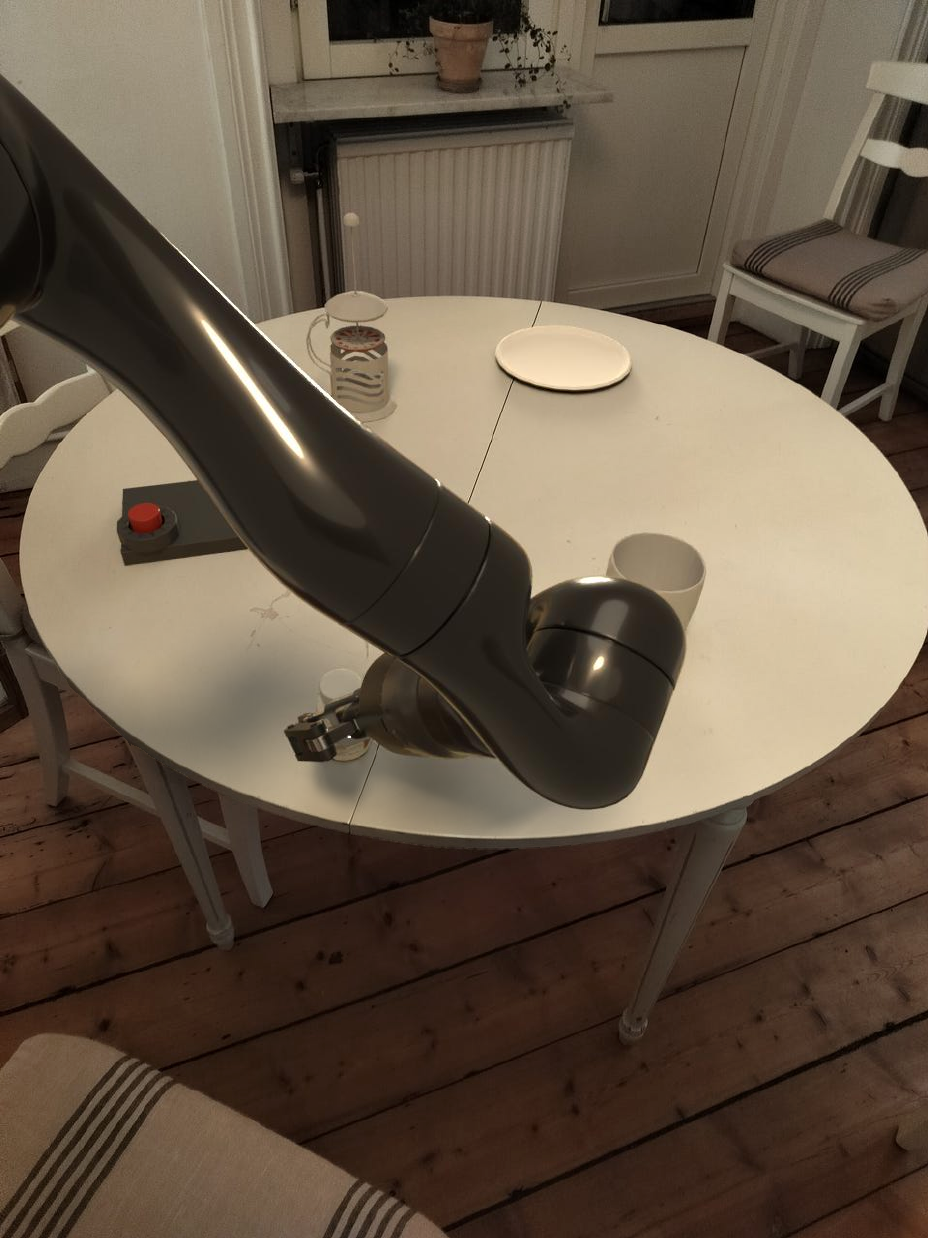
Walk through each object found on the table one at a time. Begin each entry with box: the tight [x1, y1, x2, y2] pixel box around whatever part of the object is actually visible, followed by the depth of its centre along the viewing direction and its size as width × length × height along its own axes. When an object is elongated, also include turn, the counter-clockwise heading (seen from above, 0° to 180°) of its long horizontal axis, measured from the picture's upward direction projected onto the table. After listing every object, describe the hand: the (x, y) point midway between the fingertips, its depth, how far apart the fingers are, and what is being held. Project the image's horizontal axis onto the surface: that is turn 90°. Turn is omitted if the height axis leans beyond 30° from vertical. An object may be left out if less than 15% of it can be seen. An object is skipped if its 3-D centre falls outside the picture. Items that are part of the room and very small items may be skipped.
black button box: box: [116, 479, 249, 567], centre depth 93 cm, size 16×12×4 cm
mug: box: [605, 531, 707, 631], centre depth 82 cm, size 13×9×10 cm
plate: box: [494, 324, 633, 392], centre depth 126 cm, size 21×21×1 cm
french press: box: [305, 212, 398, 423], centre depth 107 cm, size 10×12×25 cm
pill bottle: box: [315, 668, 372, 762], centre depth 70 cm, size 4×4×8 cm
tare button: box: [128, 503, 163, 533], centre depth 89 cm, size 3×3×2 cm
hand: (352, 703), depth 67 cm, fingers open, 8 cm apart
